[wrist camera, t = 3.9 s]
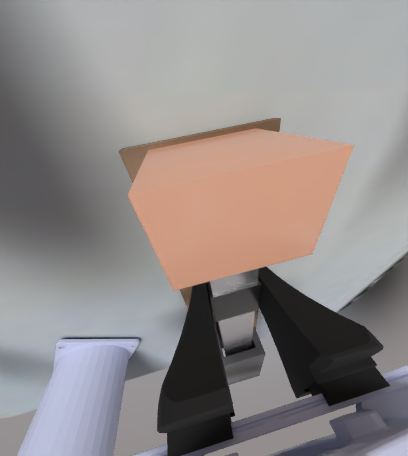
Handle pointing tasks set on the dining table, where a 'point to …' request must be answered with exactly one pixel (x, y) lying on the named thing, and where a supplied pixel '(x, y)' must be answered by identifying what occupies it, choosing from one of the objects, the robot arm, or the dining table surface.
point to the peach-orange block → (236, 201)
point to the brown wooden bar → (234, 364)
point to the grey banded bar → (236, 308)
